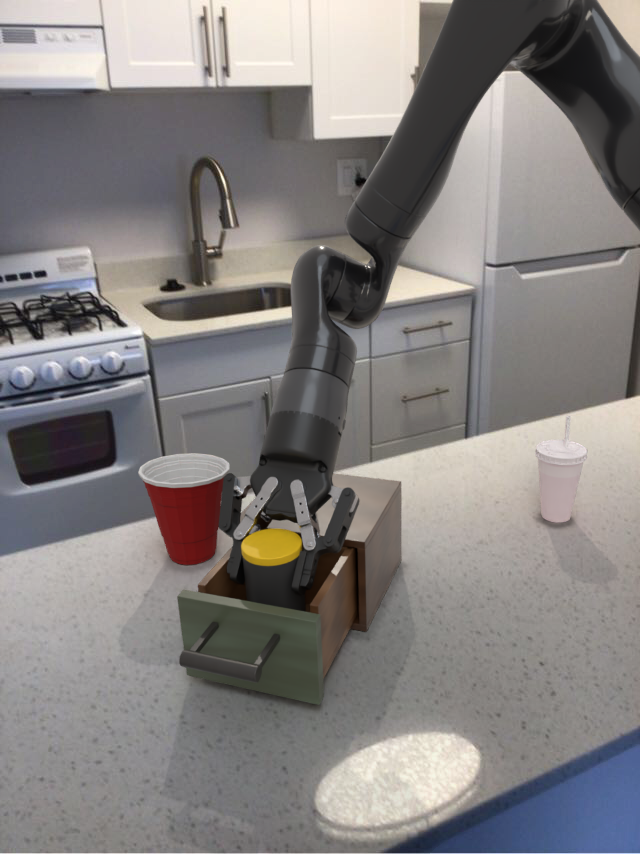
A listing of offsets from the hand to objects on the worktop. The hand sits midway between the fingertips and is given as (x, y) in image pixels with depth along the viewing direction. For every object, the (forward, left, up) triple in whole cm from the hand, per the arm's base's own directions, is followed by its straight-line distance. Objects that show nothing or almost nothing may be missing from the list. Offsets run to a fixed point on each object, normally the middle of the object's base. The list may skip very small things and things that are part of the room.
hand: (267, 586), depth 71 cm
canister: (0, -2, -4) cm, 5 cm away
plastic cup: (+18, -17, -9) cm, 26 cm away
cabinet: (0, -15, -9) cm, 18 cm away
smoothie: (-24, -39, -9) cm, 47 cm away
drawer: (0, +1, -8) cm, 8 cm away
